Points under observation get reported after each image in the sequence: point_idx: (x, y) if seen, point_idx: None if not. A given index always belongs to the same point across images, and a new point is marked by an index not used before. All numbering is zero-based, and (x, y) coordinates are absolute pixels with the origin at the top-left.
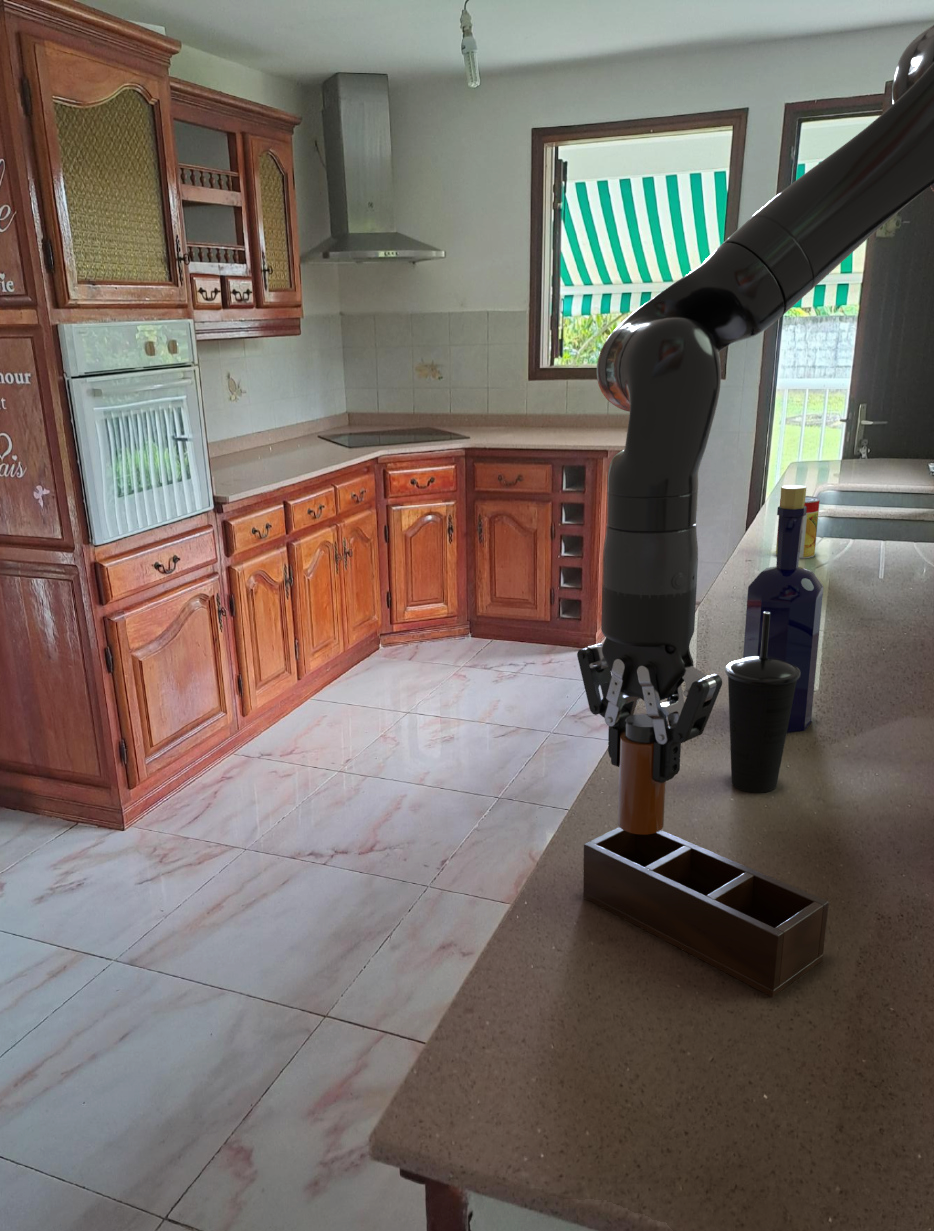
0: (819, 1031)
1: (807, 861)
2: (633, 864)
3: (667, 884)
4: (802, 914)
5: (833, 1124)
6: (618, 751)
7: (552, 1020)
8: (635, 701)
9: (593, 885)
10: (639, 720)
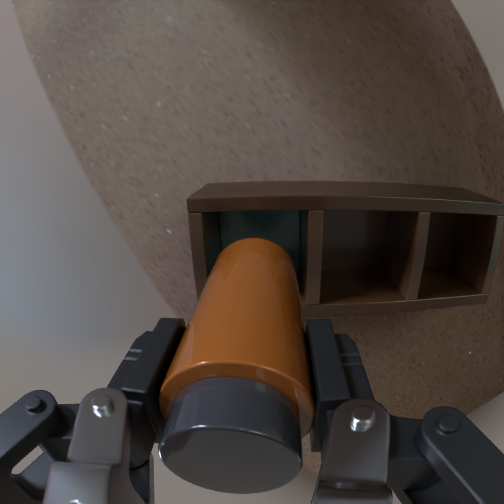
0: None
1: (345, 5)
2: None
3: (355, 313)
4: (495, 251)
5: (500, 338)
6: None
7: None
8: (126, 470)
9: None
10: (218, 472)
